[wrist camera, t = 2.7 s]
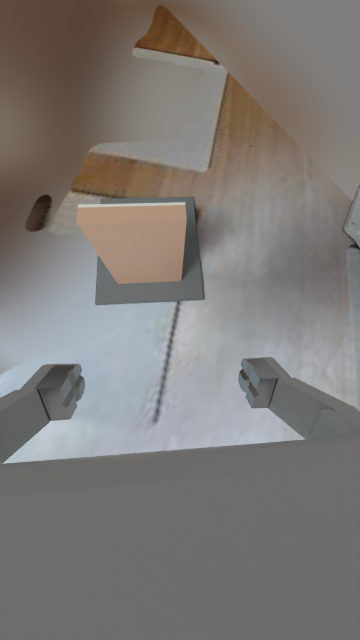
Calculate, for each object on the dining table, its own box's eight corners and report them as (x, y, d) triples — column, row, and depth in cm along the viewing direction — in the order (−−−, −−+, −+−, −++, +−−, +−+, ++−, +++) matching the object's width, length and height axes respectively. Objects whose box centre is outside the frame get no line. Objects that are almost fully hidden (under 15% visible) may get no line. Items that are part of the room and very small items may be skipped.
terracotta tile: (181, 281, 35) (186, 219, 20) (117, 283, 34) (76, 222, 20) (180, 269, 35) (185, 202, 21) (118, 272, 35) (78, 204, 20)
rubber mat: (203, 299, 34) (203, 298, 34) (96, 305, 33) (95, 304, 33) (192, 198, 40) (193, 196, 40) (101, 201, 39) (100, 198, 39)
